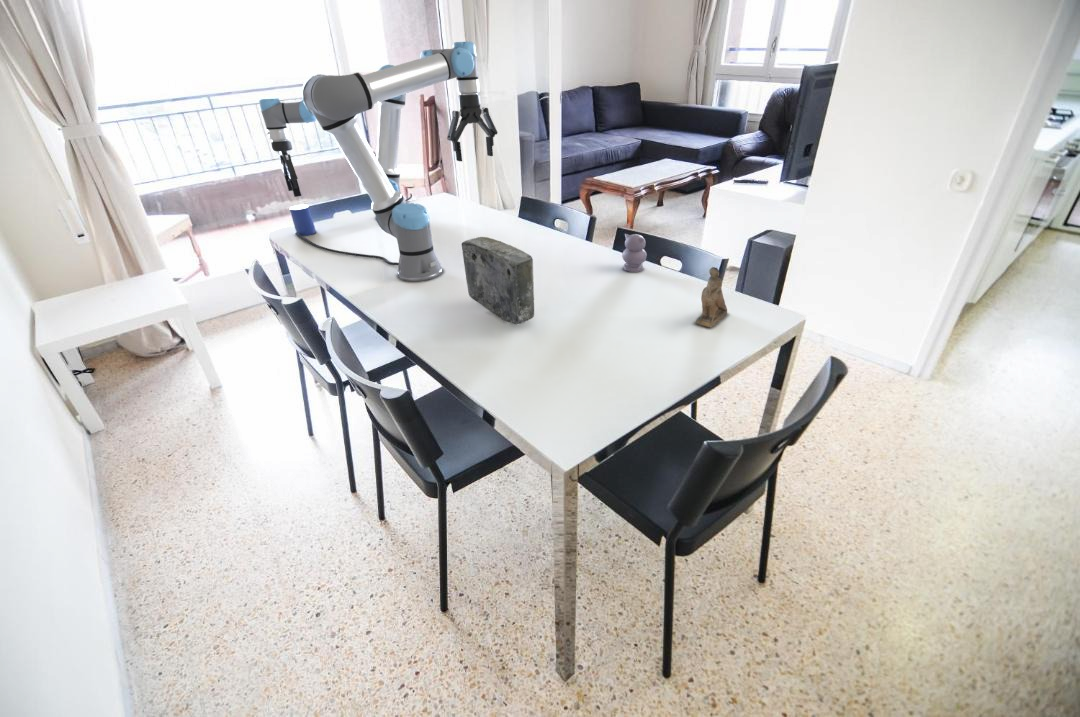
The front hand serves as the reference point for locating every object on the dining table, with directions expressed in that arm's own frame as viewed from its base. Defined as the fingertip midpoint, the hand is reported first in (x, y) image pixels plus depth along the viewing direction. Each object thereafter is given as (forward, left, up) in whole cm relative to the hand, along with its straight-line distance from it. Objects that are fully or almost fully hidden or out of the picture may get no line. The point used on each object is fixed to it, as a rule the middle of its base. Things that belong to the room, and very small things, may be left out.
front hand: (475, 158), depth 185 cm
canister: (-85, -8, -33) cm, 92 cm away
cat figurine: (+64, -10, -33) cm, 72 cm away
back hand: (-85, -8, -15) cm, 87 cm away
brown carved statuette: (+92, -41, -33) cm, 106 cm away
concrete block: (+35, -56, -33) cm, 74 cm away
